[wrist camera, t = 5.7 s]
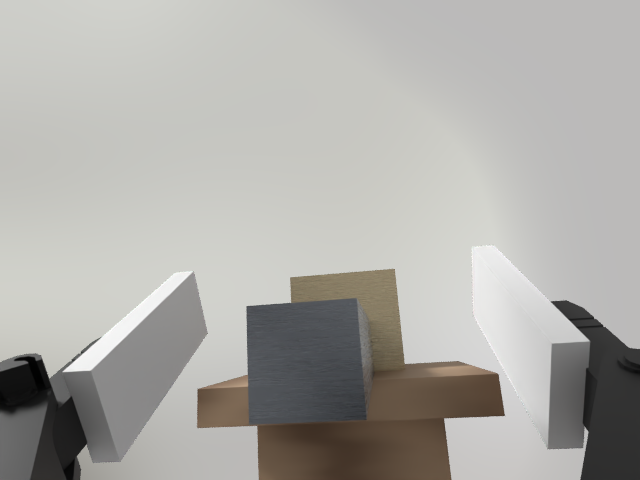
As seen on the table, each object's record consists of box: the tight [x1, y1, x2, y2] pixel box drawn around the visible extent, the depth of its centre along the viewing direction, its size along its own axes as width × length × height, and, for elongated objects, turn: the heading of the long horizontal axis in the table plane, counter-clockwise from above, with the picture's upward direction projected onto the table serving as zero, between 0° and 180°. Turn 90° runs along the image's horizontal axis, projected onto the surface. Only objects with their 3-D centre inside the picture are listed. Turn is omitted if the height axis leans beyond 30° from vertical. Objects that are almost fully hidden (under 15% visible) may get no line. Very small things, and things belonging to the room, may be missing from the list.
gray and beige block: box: [247, 269, 405, 425], centre depth 17 cm, size 6×16×5 cm, turn 172°
